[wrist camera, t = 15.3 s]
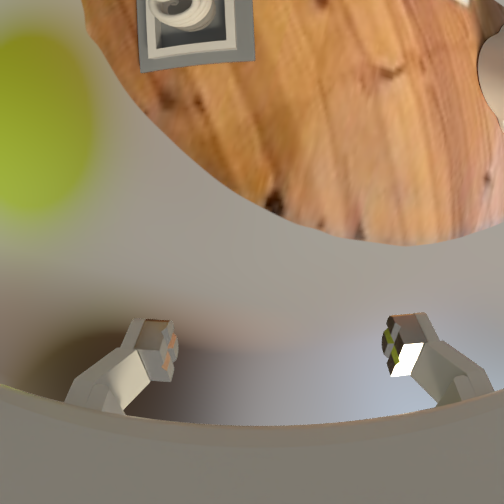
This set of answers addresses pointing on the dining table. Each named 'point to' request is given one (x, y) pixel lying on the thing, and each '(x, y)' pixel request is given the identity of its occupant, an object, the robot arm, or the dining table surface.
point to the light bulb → (184, 13)
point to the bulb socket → (197, 38)
